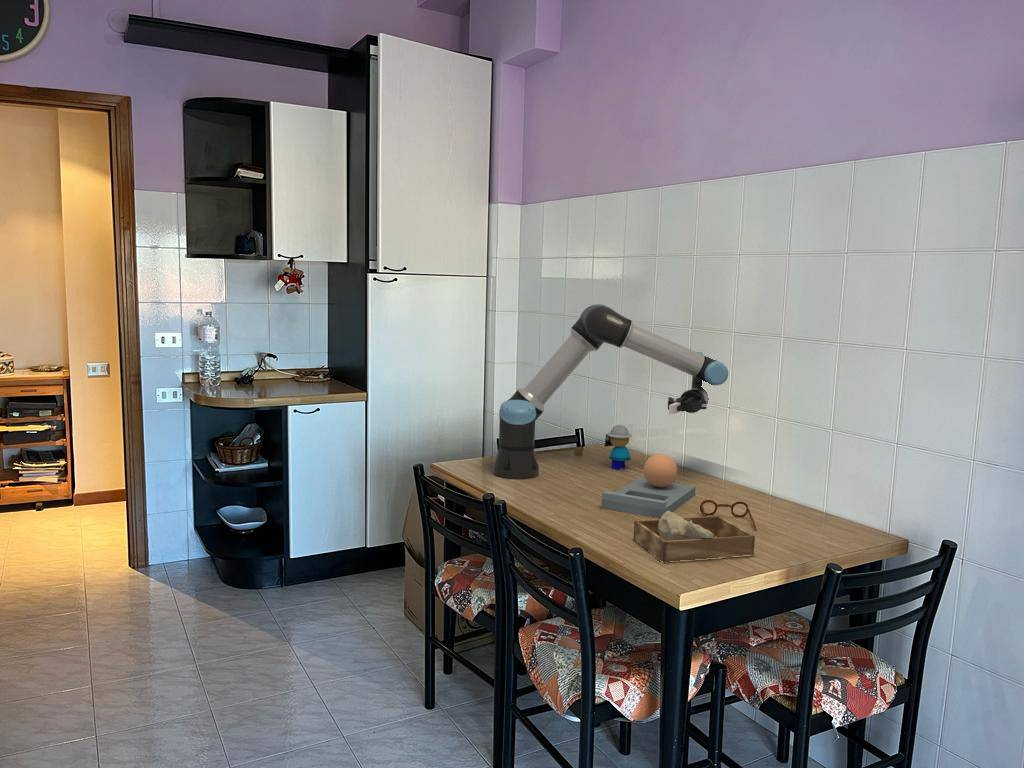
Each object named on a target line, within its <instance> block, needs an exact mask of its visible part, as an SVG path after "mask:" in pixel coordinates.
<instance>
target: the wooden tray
mask: <svg viewBox="0 0 1024 768" xmlns="http://www.w3.org/2000/svg"><path fill="white" fill-rule="evenodd" d="M682 518H683V519H685V520H687V519H690V520H692V523H693V524H696V525H700V526H701V527H702V528H704V529H707V530H709V531H710V532H712V533H713V534H714V535H717V536H716V537H713V538H704V539H689V540H674V541H665V540H664V539H662V538H661V537H660V535H659V532H658V523H659V520H660V518H655V519H641V520H640V519H639V520H634V522H633V524H634V525H633V536H632V537H633V538H632V540H633V541H634V540H635V541H636V542H637V543H636V542H635V541H634V542H635V543H636V544H638V543H639V544H640V545H641V546H640V545H639V544H638V545H639V546H640V547H641V548H643V547H644V548H645V549H647V550H648V551H649V552H651V553H652V554H653V555H655V556H656V557H657V558H659V559H660V560H661V561H663V562H670V561H680V560H695V559H707V558H719V557H732V556H743V555H755V553H754V552H755V540H756V539H755V538H756V535H754V534H752V533H750V532H748V531H747V530H745V529H743V528H742V527H740V526H738V525H736V524H734V523H732V521H731V522H730V521H729V520H727V519H725V518H724V517H722V516H720V515H711V516H710V515H706V516H705V517H704V516H693V517H692V516H689V517H682ZM690 520H687V521H689V522H690ZM718 536H719V537H718ZM644 548H643V549H644ZM645 549H644V550H645ZM647 550H646V551H647ZM648 551H647V552H648ZM649 552H648V553H649ZM651 553H650V554H651ZM652 554H651V555H652ZM653 555H652V556H653ZM656 557H655V558H656ZM657 558H656V559H657ZM660 560H659V561H660ZM661 561H660V562H661Z"/></svg>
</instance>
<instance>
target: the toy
mask: <svg viewBox="0 0 1024 768" xmlns="http://www.w3.org/2000/svg"><path fill="white" fill-rule="evenodd" d="M632 437H633V435H632V434H631V433H629V430H628V428H627V426H625V425H623V424H616V425H614V426H613V427H612V428H611V430H610V432H608V433H605V437H604V438H605V439H604V441H605V442H604V447H613V446H614V447H613V448H612V450H611V451H610V455H609V457H608V458H609V459H610V460H611V469H612V470H614V469H615V470H616V471H620V470H619V469H621V468H622V469H626V462H628V461H631V459H632V458H631V454H630V451H629V448H628V447H626V446H627V445H628V444H629V442H630V438H632ZM622 469H621V470H622Z"/></svg>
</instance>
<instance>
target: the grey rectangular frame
mask: <svg viewBox="0 0 1024 768" xmlns="http://www.w3.org/2000/svg"><path fill="white" fill-rule="evenodd" d="M601 494H602V495H601V509H605V510H610V511H615V510H616V511H617V512H621V511H623V513H626V512H628V513H627V514H632V513H633V514H632V515H638V514H640V515H639V516H643V515H645V517H649V516H651V517H650V518H654V517H657V518H656V519H660V518H661V516H662V515H663V514H664V513H665V512H666V511H670V512H672V513H674V511H675V509H676V510H677V509H678V508H679V507H681V506H682V505H684V504H685V503H686V502H688V501H689V500H690V499H691V498H693V497H694V496H695V495H696V486H693V485H687V484H681V483H675V482H673V483H672V484H670V485H669V486H666V487H661V488H660V487H655V486H653V485H651V484H650V483H649V482H648V481H647V480H646V478H645V477H644V478H642V477H638V478H637V479H635V480H633V481H631V482H630V483H628V484H625V485H624V486H622V487H621V488H619V489H617V490H616V491H614V492H612V491H606V490H604V491H602V492H601ZM684 502H685V503H684ZM680 505H681V506H680Z"/></svg>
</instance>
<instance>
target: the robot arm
mask: <svg viewBox="0 0 1024 768" xmlns="http://www.w3.org/2000/svg"><path fill="white" fill-rule="evenodd" d="M604 343H605V344H608V345H611V346H614V347H616V348H619V349H620V348H624V347H625V348H627V349H630V350H632V351H634V352H635V353H636V352H637V353H639V354H642V355H644V356H646V357H648V358H650V359H653V360H655V361H658V362H660V363H662V364H664V365H667V366H668V367H670V368H673V369H677V370H678V371H680V372H683V373H685V374H687V375H690V376H692V377H691V389H687V390H686V391H684V392H683V393H682V394H681V395H680V396H679V397H677V398H674V397H670V396H669V397H667V410H668V415H675V414H678V413H680V412H682V413H683V412H686V413H689V414H695V413H697V412H699V411H701V410H706V409H707V407H706V406H707V404H708V400H709V398H708V394H707V392H706V391H705V390H704V389H703V388H702V387H701V386H702V380H703V381H705V382H708V383H709V384H711V385H714V386H720V385H723V384H725V382H726V381H727V380H728V378H729V370H728V367H727V365H725V364H724V363H723V362H721V361H719V360H717V359H716V360H713V359H711V358H709V357H706V356H704V355H703V353H702V352H696V351H695V350H693V349H691V348H688V347H685V346H683V345H681V344H678V343H677V342H675V341H671V340H670V339H668V338H665V337H662V336H661V335H658V334H656V333H654V332H651V331H649V330H647V329H644V328H642V327H640V326H638V325H635V324H634V322H633V320H632V319H630V318H627V317H625V316H623V315H622V314H620V313H618V312H617V311H615V310H614V309H612V308H611V307H609V306H607V305H604V304H599V303H598V304H597V303H596V304H591V305H590V306H588V307H586V308H585V309H584V310H583V311H582V312H581V314H580V316H579V318H578V319H577V320H576V322H575V323H574V324H573V325H572V326H571V327H570V335H569V336H568V338H567V339H566V340H565V341H564V343H562V345H560V347H559V348H558V349H557V350H556V352H555V353H554V354H553V355H552V356H551V357H550V358H549V360H547V362H546V363H545V364H544V366H543V367H542V368H541V369H540V370H539V371H538V373H537V374H536V375H535V376H534V377H533V378H532V379H531V380H530V382H529V383H528V384H526V386H525V387H524V388H518V389H517V390H516V391H515V392H514V394H513V395H511V397H510V398H508V399H507V400H506V401H504V402H502V403H501V404H500V406H499V411H498V417H499V431H498V451H497V454H496V457H495V459H494V462H493V465H492V473H493V475H495V476H498V477H500V478H505V479H516V480H517V479H521V480H522V479H523V478H524V479H531V478H536V477H538V476H539V475H540V466H539V462H538V458H537V456H536V452H535V444H536V443H535V440H536V422H537V420H538V419H539V418H540V417H541V415H542V414H543V413H544V412H545V407H544V406H545V405H546V403H547V402H548V401H549V400H550V398H551V397H552V396H553V395H554V394H555V392H557V390H558V389H559V388H560V387H561V386H562V385H563V383H565V381H566V380H567V379H568V378H569V376H570V375H571V374H572V373H573V372H574V371H575V370H576V368H577V367H578V366H579V365H580V364H581V363H582V361H583V360H584V359H585V358H586V357H587V356H588V354H590V352H595V351H596V352H597V351H598V350H599V349H600V348H601V347H602V345H603V344H604Z"/></svg>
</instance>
